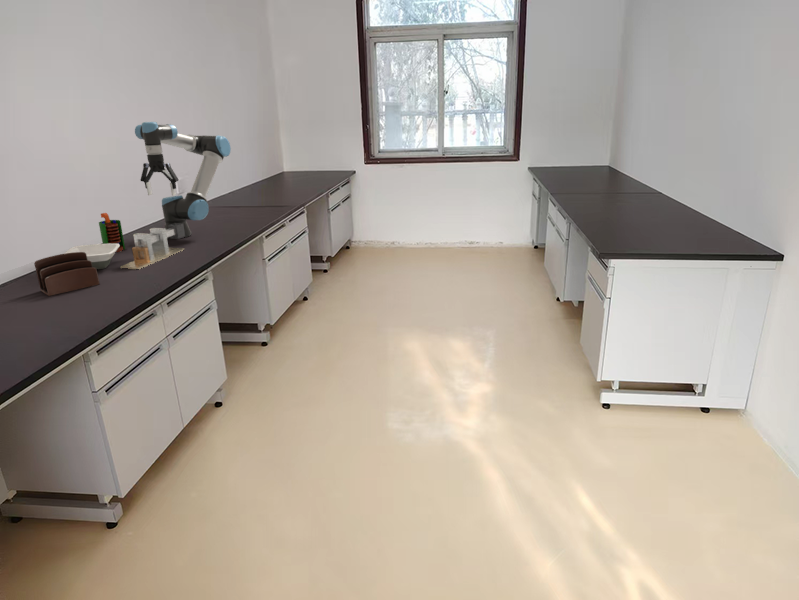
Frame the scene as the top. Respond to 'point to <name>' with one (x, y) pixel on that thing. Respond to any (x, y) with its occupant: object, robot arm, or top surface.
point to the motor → (111, 232)
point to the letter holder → (65, 273)
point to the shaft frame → (156, 253)
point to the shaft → (169, 233)
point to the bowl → (97, 253)
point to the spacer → (136, 257)
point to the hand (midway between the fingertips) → (162, 195)
